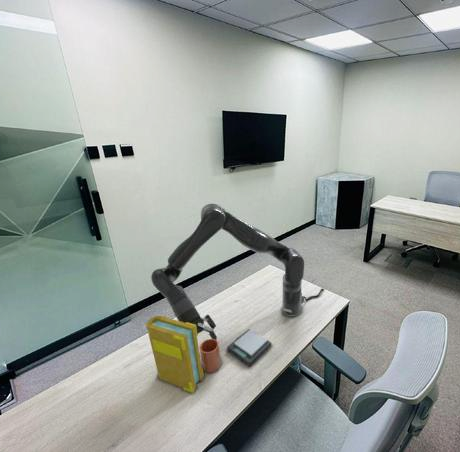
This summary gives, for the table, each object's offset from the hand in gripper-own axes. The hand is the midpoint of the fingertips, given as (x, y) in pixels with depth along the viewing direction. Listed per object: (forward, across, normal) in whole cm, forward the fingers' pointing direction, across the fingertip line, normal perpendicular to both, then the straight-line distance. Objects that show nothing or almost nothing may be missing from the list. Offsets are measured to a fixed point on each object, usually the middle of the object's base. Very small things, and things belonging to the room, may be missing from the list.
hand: (206, 347), depth 103 cm
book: (+4, -11, +8) cm, 14 cm away
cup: (+7, 0, +4) cm, 8 cm away
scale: (+11, +15, 0) cm, 19 cm away
